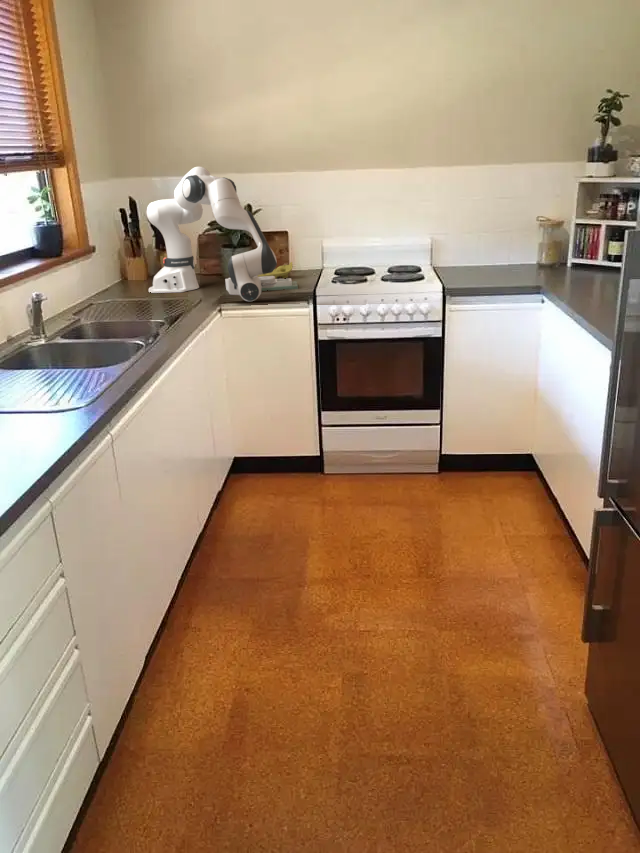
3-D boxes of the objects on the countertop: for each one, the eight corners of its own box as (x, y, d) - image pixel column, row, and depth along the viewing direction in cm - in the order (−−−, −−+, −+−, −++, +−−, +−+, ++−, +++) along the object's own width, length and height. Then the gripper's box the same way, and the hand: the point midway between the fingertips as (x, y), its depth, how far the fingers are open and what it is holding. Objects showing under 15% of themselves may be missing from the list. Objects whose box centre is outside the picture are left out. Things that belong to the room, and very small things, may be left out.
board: (261, 290, 317) (260, 283, 316) (260, 286, 328) (260, 278, 327) (297, 288, 318) (297, 281, 317) (296, 284, 329) (296, 276, 328)
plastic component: (250, 277, 339) (250, 264, 346) (253, 290, 345) (253, 277, 352) (292, 271, 339) (292, 259, 345) (295, 285, 344) (294, 272, 351)
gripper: (276, 275, 288) (275, 270, 301) (223, 278, 287) (225, 273, 300) (277, 291, 290) (276, 285, 303) (225, 294, 289) (226, 289, 302)
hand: (250, 279), depth 301 cm, fingers open, 8 cm apart
